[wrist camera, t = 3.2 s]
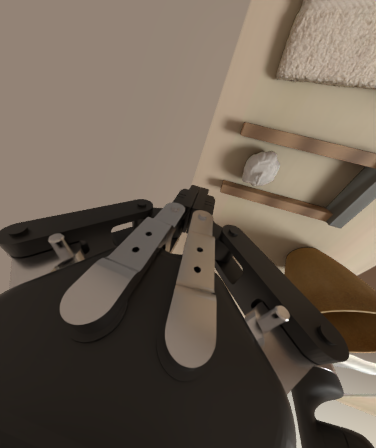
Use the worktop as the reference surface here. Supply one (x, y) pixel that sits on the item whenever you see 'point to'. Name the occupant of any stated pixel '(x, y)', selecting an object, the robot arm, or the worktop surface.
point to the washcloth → (332, 44)
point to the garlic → (261, 168)
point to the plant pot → (336, 296)
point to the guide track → (356, 190)
